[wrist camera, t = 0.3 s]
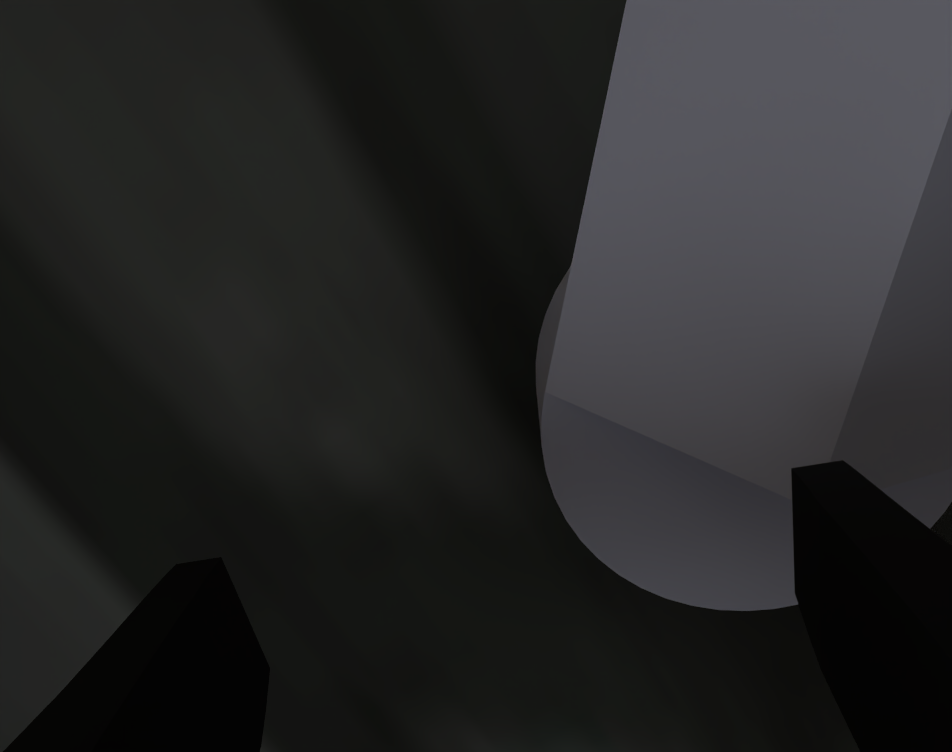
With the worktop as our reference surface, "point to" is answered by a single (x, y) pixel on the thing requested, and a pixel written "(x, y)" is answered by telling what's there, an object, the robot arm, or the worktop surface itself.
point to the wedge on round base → (754, 287)
